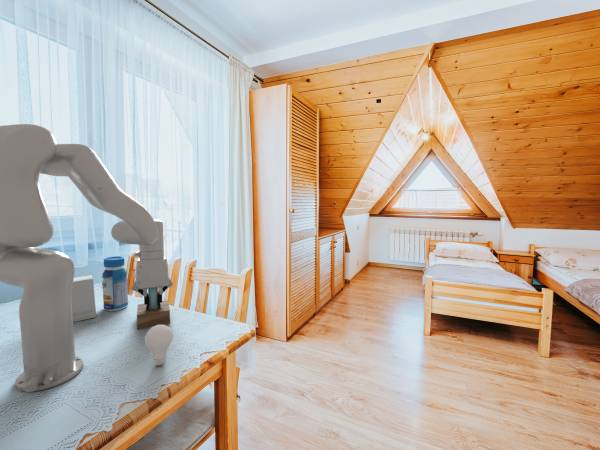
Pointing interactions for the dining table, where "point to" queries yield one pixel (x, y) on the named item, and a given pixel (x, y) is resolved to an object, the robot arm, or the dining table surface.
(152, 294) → the peg
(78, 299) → the skincare box
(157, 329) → the light bulb
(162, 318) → the socket block
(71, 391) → the dining table surface
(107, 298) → the beverage bottle
